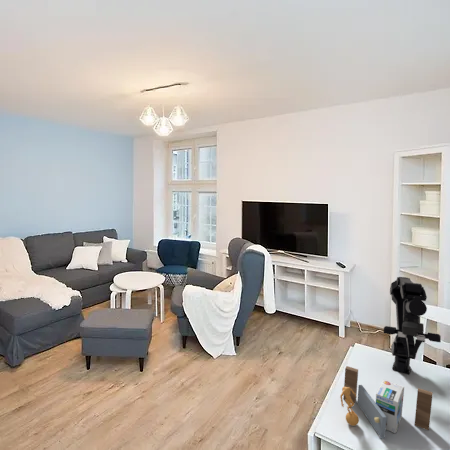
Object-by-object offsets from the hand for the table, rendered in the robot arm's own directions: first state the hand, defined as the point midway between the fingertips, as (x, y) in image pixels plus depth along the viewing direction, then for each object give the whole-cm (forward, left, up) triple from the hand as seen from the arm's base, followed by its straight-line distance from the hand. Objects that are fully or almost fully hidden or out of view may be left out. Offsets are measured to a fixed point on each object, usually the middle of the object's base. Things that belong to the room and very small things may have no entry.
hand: (411, 357), depth 123 cm
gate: (+27, -10, -13) cm, 31 cm away
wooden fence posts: (+19, -6, -13) cm, 24 cm away
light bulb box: (+23, -4, -13) cm, 26 cm away
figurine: (+31, -15, -13) cm, 37 cm away
